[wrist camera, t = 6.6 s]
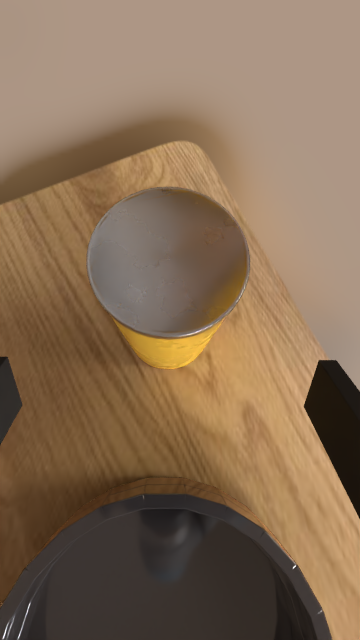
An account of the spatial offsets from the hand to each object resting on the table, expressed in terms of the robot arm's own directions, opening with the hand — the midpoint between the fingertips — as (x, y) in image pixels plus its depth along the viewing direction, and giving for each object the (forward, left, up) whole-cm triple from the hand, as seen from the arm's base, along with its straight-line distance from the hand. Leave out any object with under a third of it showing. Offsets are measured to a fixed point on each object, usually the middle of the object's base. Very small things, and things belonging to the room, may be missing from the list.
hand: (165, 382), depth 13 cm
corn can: (0, -5, -10) cm, 12 cm away
